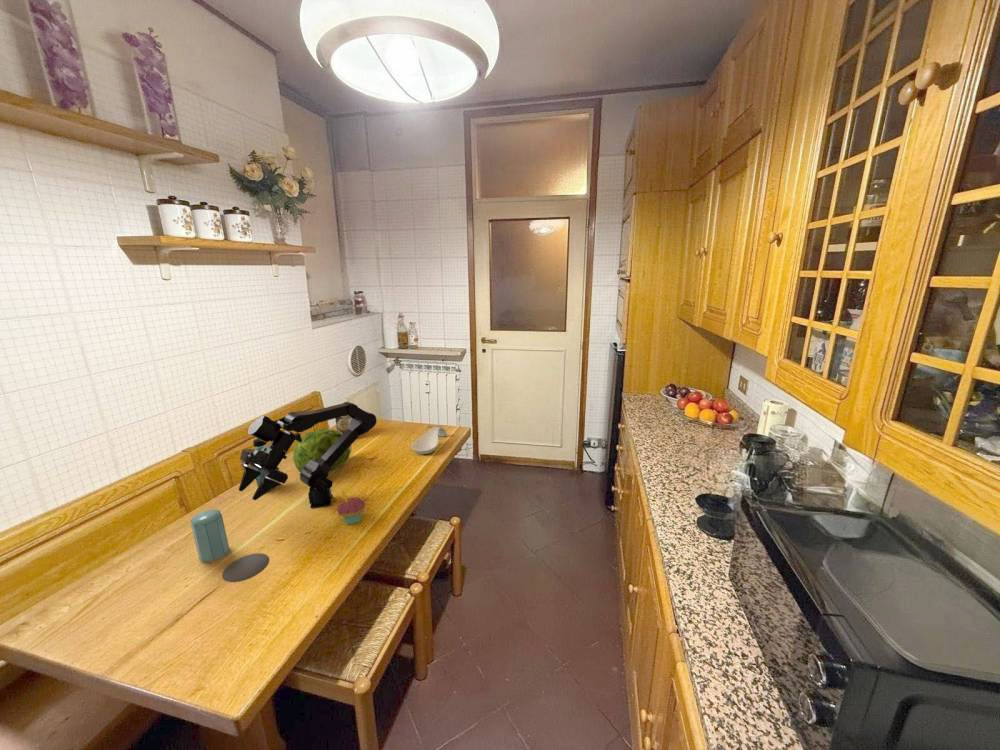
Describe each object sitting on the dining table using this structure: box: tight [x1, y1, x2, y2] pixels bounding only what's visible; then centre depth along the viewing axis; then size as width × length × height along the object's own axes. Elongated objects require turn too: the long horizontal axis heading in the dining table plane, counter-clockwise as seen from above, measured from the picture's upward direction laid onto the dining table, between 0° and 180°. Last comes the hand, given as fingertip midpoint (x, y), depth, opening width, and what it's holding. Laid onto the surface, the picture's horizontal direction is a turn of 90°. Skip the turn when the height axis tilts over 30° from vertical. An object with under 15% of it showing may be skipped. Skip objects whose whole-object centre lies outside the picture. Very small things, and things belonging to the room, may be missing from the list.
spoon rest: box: [411, 426, 448, 455], centre depth 184 cm, size 24×12×7 cm, turn 163°
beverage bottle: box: [252, 438, 268, 487], centre depth 149 cm, size 6×7×20 cm
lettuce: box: [292, 428, 352, 473], centre depth 164 cm, size 18×23×19 cm
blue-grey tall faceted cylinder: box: [190, 509, 230, 563], centre depth 113 cm, size 7×7×13 cm
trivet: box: [221, 552, 270, 583], centre depth 109 cm, size 11×11×1 cm
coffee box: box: [334, 404, 358, 434], centre depth 196 cm, size 9×6×16 cm
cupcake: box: [336, 487, 367, 525], centre depth 129 cm, size 9×8×12 cm
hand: (246, 495), depth 120 cm, fingers open, 9 cm apart
